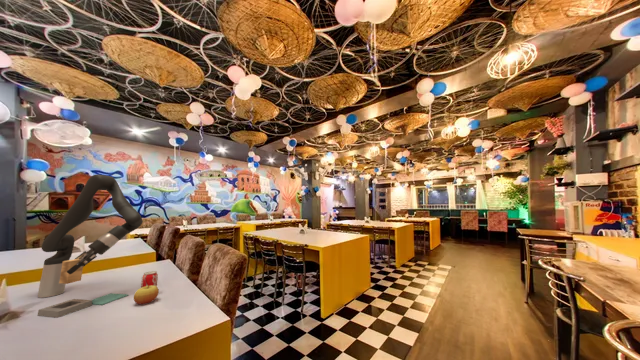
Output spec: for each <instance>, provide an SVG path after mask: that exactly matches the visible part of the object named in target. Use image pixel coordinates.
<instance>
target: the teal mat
mask: <svg viewBox="0 0 640 360" xmlns="http://www.w3.org/2000/svg"><path fill="white" fill-rule="evenodd" d="M128 296H129V294H128V293H127V294H125V293H112V292H111V293H107V294H104V295H103V296H99V297H95V298H93V299H91V300H92V306H103V305H106V304H110V303H112V302H114V301H118V300H120V299H123V298H126V297H128Z"/></svg>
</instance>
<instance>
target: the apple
mask: <svg viewBox="0 0 640 360" xmlns="http://www.w3.org/2000/svg"><path fill="white" fill-rule="evenodd" d="M159 292H160V291H159V288H158V285H157V286H153V285H152V286H145V287H142V288H141V287H139V288H138V289H137V290H136V291H135V292H134V295H133V300H134V302H135V304H137V305H147V304H150V303H151V302H154V301H155V300H156V299H157V297H158V296H159Z"/></svg>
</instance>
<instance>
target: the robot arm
mask: <svg viewBox="0 0 640 360" xmlns="http://www.w3.org/2000/svg"><path fill="white" fill-rule="evenodd" d="M98 191H106V192H108V193H109V194H110V195H111V204H112V207H113V208H114V210H115V211H116V213H118V214H119V215H120V216H121V217H122V218H123V219H124V222H125V223H123V224H122V225H116V226H114V227H113V228H112V229H110V230H109V231H107V232H106V233H104V234H102V235H100V237H98V238H97V239H95V240H94V241H93V242H92V243H90V244H89V245H88V246H87V247H88V248H89V249H88V250H87V251H86V250H85V251H83V252H82V253H80V254H79V255H78V256H76V257H75V258H74V259H79V262H78V263H77V264H76V265H74V266H73V267H72V268H70V269H69V270H68V271H67V273H69V274H72V273H74V272H75V271H76V270H77V269H79V268H80V267H82V266H83V268H84V267H86V265H88V264H89V263H90V262H92V261H93V260H94V259H96V258H97V257H98V256H97V255H101V256H102V255H103V254H105V253H106V252H107V251H109V250H110V249H111V248H112V247H114V246H115V245H117V243H118V242H119V241H120V240H121V239H123V238H124V237H125V236H126V235H128V234H131V233H132V232H133V231H135V230H137V229H139V228H140V227H141V226H142V225H143V223H144V222H143V218H142V215H141V214H140V212H139V211H138V210H136V209H135V208H134V206H133V205H132V204H131V203H130V202H129V200H128V199H127V198H126V196H125V195H124V193H123V191H122V189H121V188H120V185H119V184H118V181H117V180H116V178H115V177H113V176H111V175H106V174H93V175H91V176H90V177H89V178H88V179H87V181H86V183H85V185H84V187H83V188H82V189H81V192H80V193H79V195H78V196H77V198H76V199H75V201H74V202H73V204H72V205H71V206H70V208H69V209H68V210H67V212H66V213H65V214H64V216H63V217H62V219H61V220H60V221H59V223H58V224H57V225H56V226H55V227H54V228H53V229H52V231H51V232H50V233H48V235H47V236H46V237H45V238H44V240H43V242H42V243H41V250H42V251H43V252H44V253H54V252H56V253H55V254H53V255H52V256H50V257H48V258H45V260H44V262H43V267H42V271H41V272H42V273H41V277H40V282H39V287H38V292H37V297H38V298H41V299H43V298H48V297H49V298H50V297H54V296H58V295H61V294H63V293H64V292H65V290H66V284H61V283H59V281H60V275H61V269H62V263H63V261H68V260H71V257H72V255H73V251H74V246H75V237H74V236H73V234H68V233H69V232H70V231H72V230H73V229H75V228H76V227H78V226H80V225H82V224H83V223H84V222H86V221H87V220H88V218H89V217H90V215H92V212H94V202H93V201H94V197H95V195H96V194H97V192H98Z"/></svg>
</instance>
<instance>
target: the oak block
mask: <svg viewBox="0 0 640 360" xmlns="http://www.w3.org/2000/svg"><path fill="white" fill-rule="evenodd" d="M78 262H79V259H75V258H74V259H69V260H68V261H63V263H62V269H61V275H60V281H59V283H61V284H65V285H68V284H72V283H76V282H80V281H82V278H83V269H84V267H83V266H82V267H80V268H79V269H77V270H76V271H75V272H74V273H72V274H69V273H67V271H68V270H69V269H70V268H72V267H73V266H74V265H76V264H77V263H78Z"/></svg>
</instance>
